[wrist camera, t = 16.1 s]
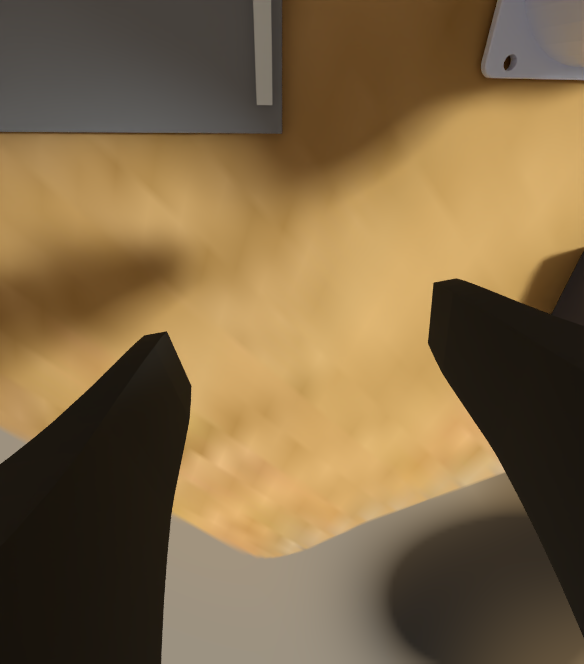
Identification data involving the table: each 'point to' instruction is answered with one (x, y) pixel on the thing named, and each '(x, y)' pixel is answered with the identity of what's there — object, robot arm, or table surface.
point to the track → (141, 66)
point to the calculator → (573, 297)
